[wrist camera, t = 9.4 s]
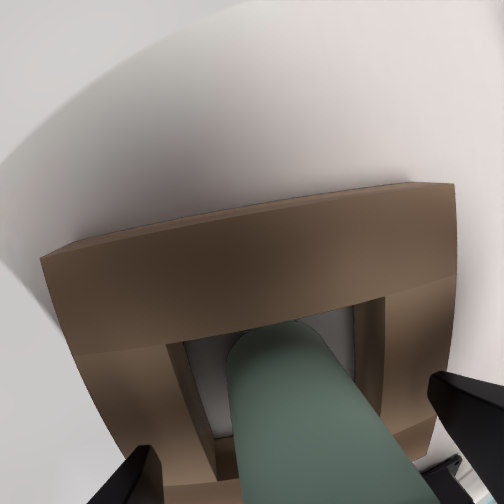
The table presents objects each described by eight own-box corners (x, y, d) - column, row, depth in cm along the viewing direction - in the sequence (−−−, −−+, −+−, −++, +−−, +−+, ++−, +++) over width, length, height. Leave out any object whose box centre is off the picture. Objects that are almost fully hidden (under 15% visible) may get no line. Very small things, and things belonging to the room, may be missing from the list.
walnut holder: (403, 426, 14) (426, 455, 11) (170, 482, 12) (168, 519, 10) (411, 181, 11) (453, 183, 8) (73, 242, 10) (39, 258, 7)
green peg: (329, 392, 12) (417, 542, 4) (236, 414, 12) (268, 590, 4) (324, 309, 11) (462, 465, 4) (215, 332, 11) (235, 544, 3)
